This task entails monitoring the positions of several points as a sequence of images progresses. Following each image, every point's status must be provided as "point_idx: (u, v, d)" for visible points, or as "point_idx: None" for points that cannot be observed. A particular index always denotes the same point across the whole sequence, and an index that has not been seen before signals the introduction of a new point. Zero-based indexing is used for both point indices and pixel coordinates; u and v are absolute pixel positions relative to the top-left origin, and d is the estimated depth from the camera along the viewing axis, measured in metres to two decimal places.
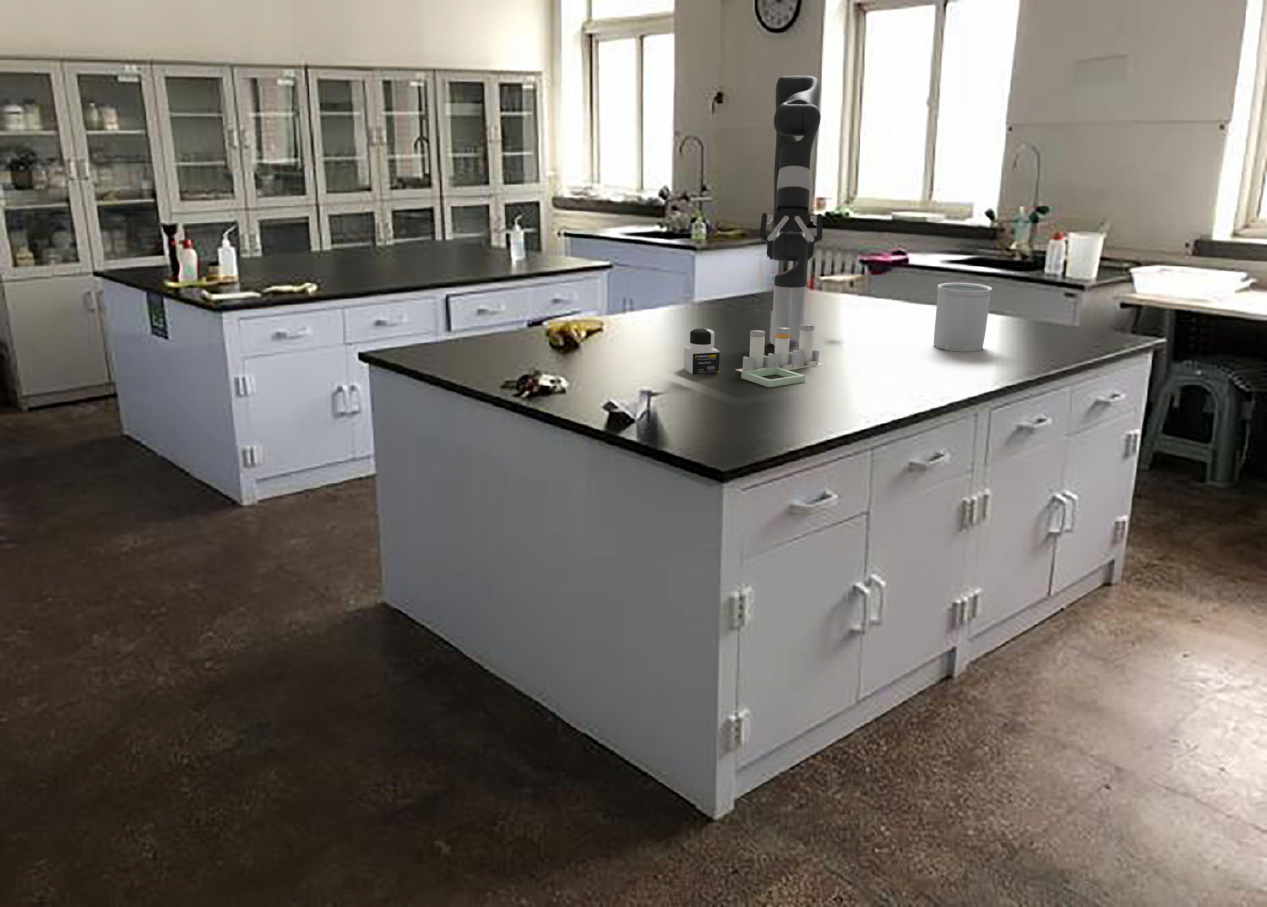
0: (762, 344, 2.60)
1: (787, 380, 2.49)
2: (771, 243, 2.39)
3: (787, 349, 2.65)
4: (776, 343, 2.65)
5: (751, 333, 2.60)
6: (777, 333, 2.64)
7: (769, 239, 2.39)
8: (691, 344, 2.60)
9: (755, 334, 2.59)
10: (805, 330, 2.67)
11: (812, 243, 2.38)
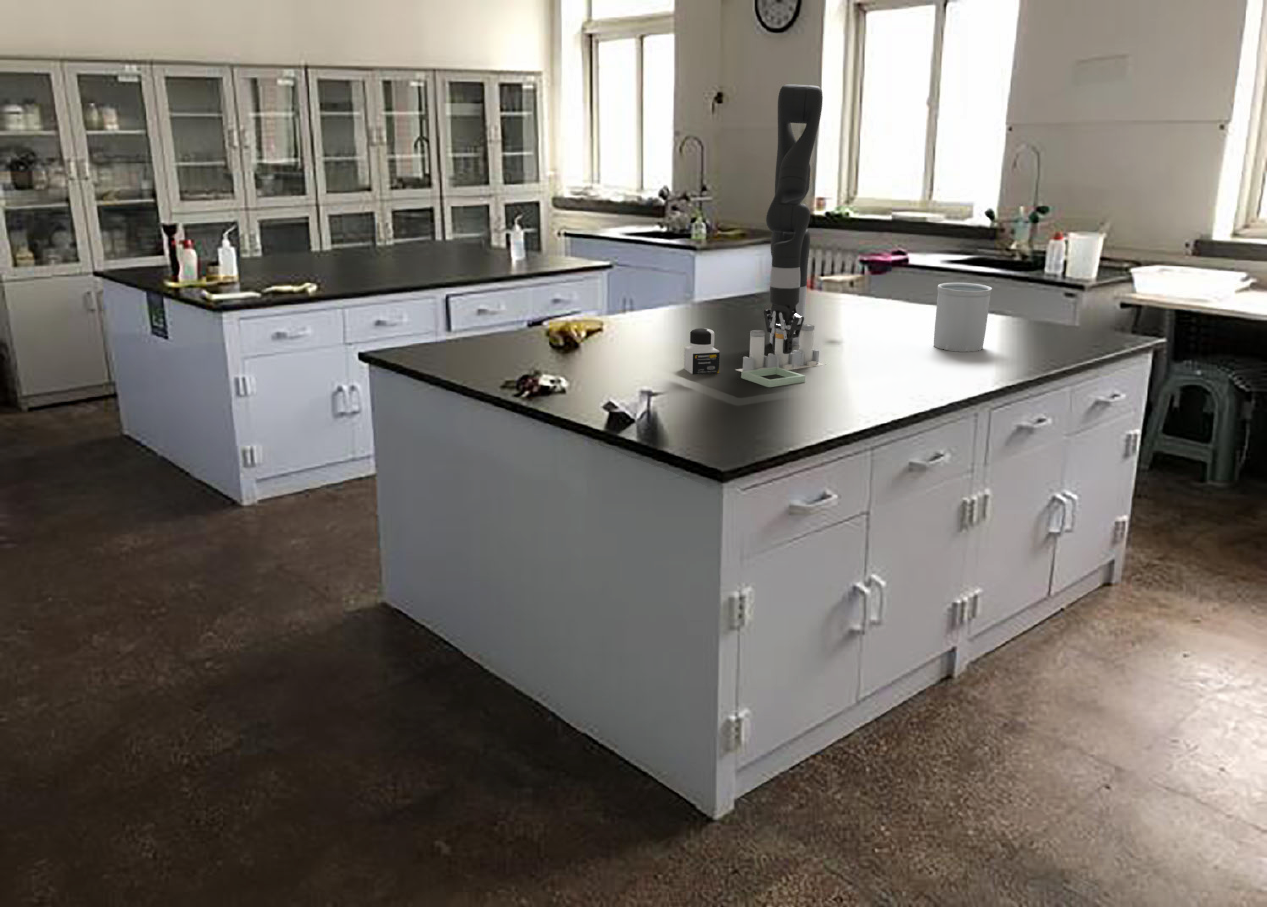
0: (762, 344, 2.60)
1: (787, 380, 2.49)
2: (773, 338, 2.67)
3: None
4: (776, 343, 2.65)
5: (751, 333, 2.60)
6: (777, 333, 2.64)
7: (772, 334, 2.67)
8: (691, 344, 2.60)
9: (755, 334, 2.59)
10: (805, 330, 2.67)
11: (787, 340, 2.63)
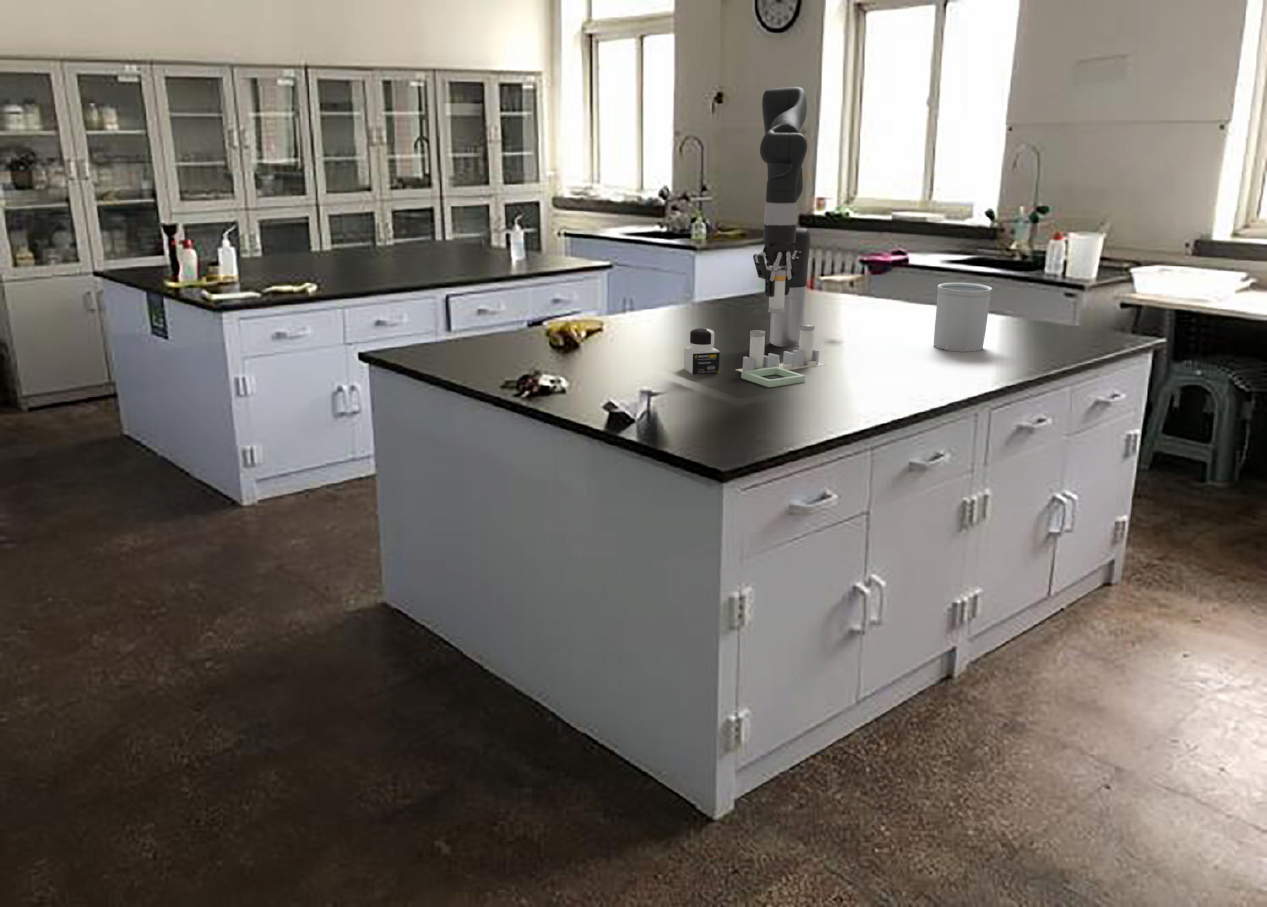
0: (762, 344, 2.60)
1: (787, 380, 2.49)
2: (773, 283, 2.45)
3: None
4: (781, 286, 2.46)
5: (751, 333, 2.60)
6: (783, 275, 2.45)
7: (772, 279, 2.44)
8: (691, 344, 2.60)
9: (755, 334, 2.59)
10: (805, 330, 2.67)
11: (788, 280, 2.48)
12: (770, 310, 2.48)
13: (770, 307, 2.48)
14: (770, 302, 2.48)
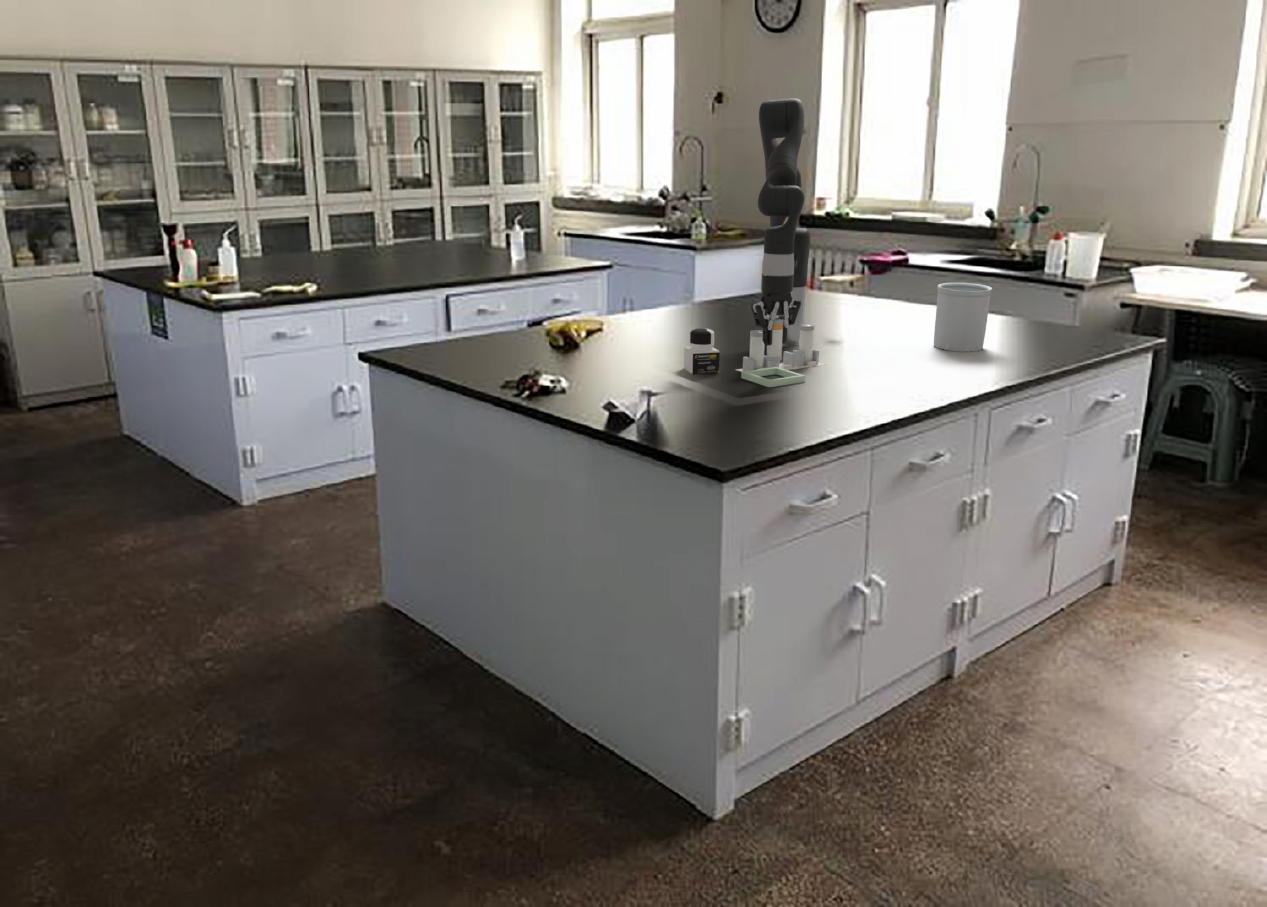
0: (762, 344, 2.60)
1: (787, 380, 2.49)
2: (770, 331, 2.49)
3: None
4: (779, 335, 2.49)
5: (751, 333, 2.60)
6: (780, 324, 2.49)
7: (769, 328, 2.48)
8: (691, 344, 2.60)
9: (755, 334, 2.59)
10: (805, 330, 2.67)
11: (786, 328, 2.51)
12: (767, 358, 2.52)
13: (768, 355, 2.51)
14: (767, 350, 2.51)
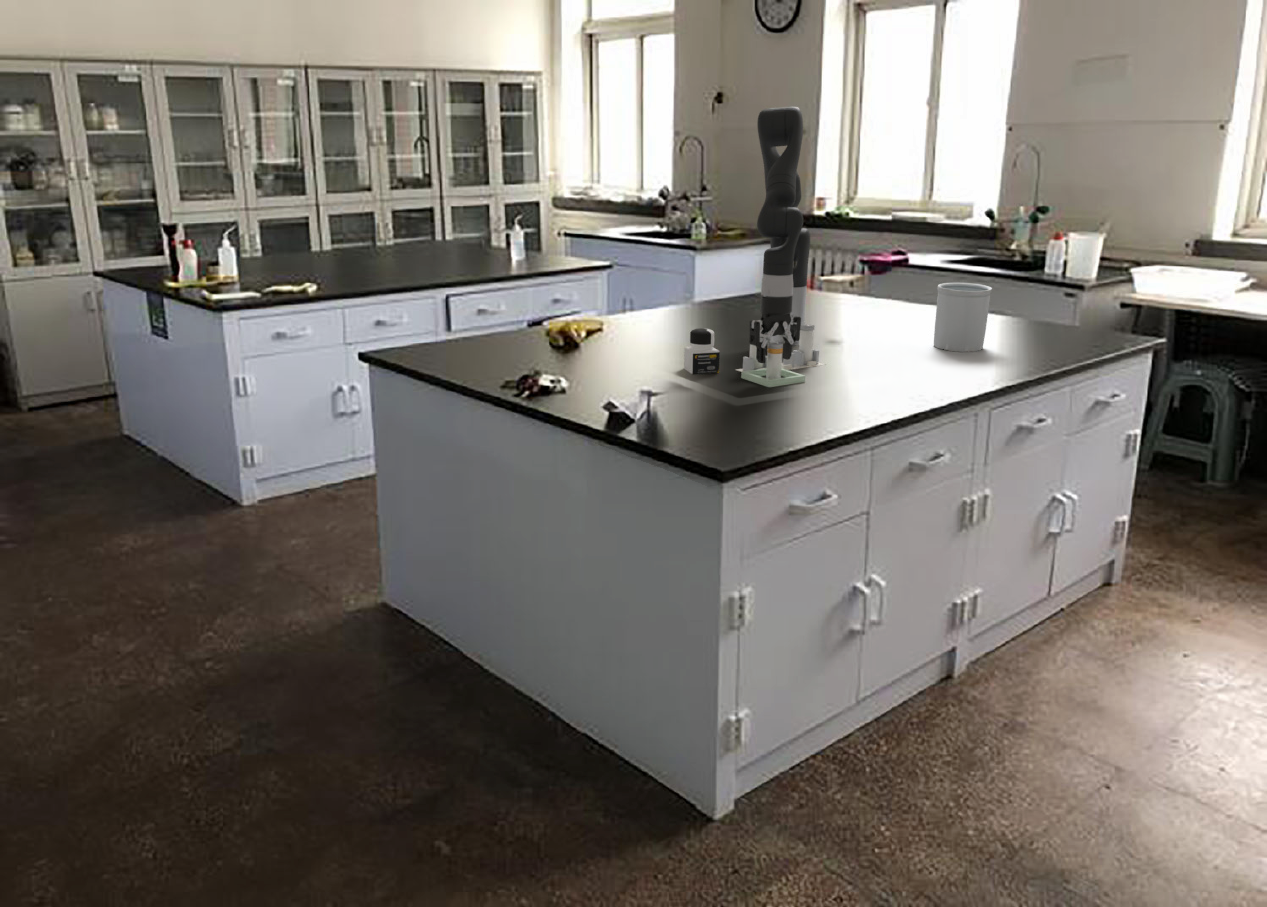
0: None
1: (787, 380, 2.49)
2: (764, 349, 2.49)
3: None
4: (778, 359, 2.51)
5: None
6: (780, 348, 2.50)
7: (763, 346, 2.48)
8: (691, 344, 2.60)
9: None
10: (805, 330, 2.67)
11: (791, 344, 2.53)
12: None
13: (767, 378, 2.53)
14: (767, 374, 2.53)
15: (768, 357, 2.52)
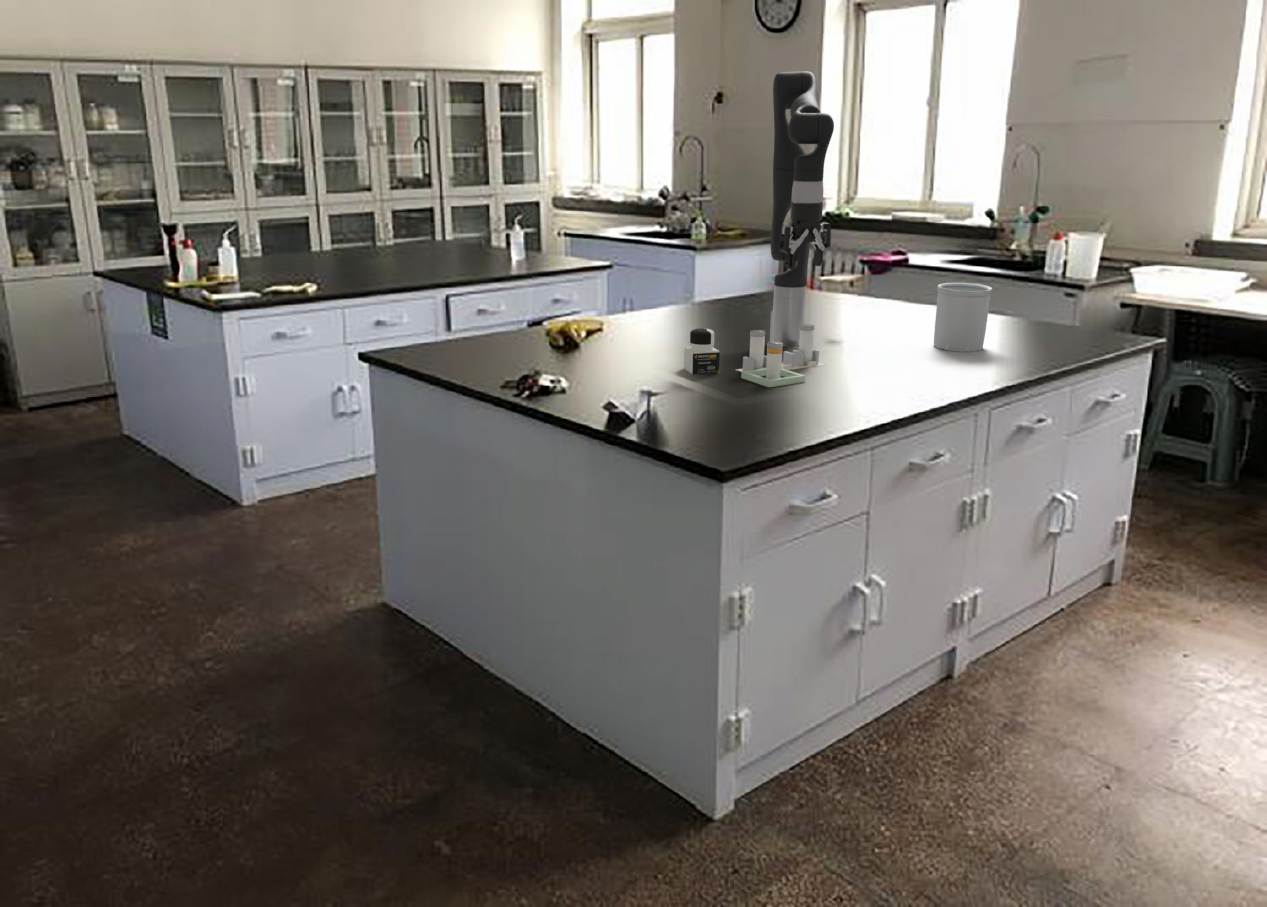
0: (762, 344, 2.60)
1: (787, 380, 2.49)
2: (793, 255, 2.52)
3: None
4: (778, 359, 2.51)
5: (751, 333, 2.60)
6: (780, 348, 2.50)
7: (792, 252, 2.52)
8: (691, 344, 2.60)
9: (755, 334, 2.59)
10: (805, 330, 2.67)
11: (822, 251, 2.57)
12: None
13: None
14: (767, 374, 2.53)
15: (768, 357, 2.52)
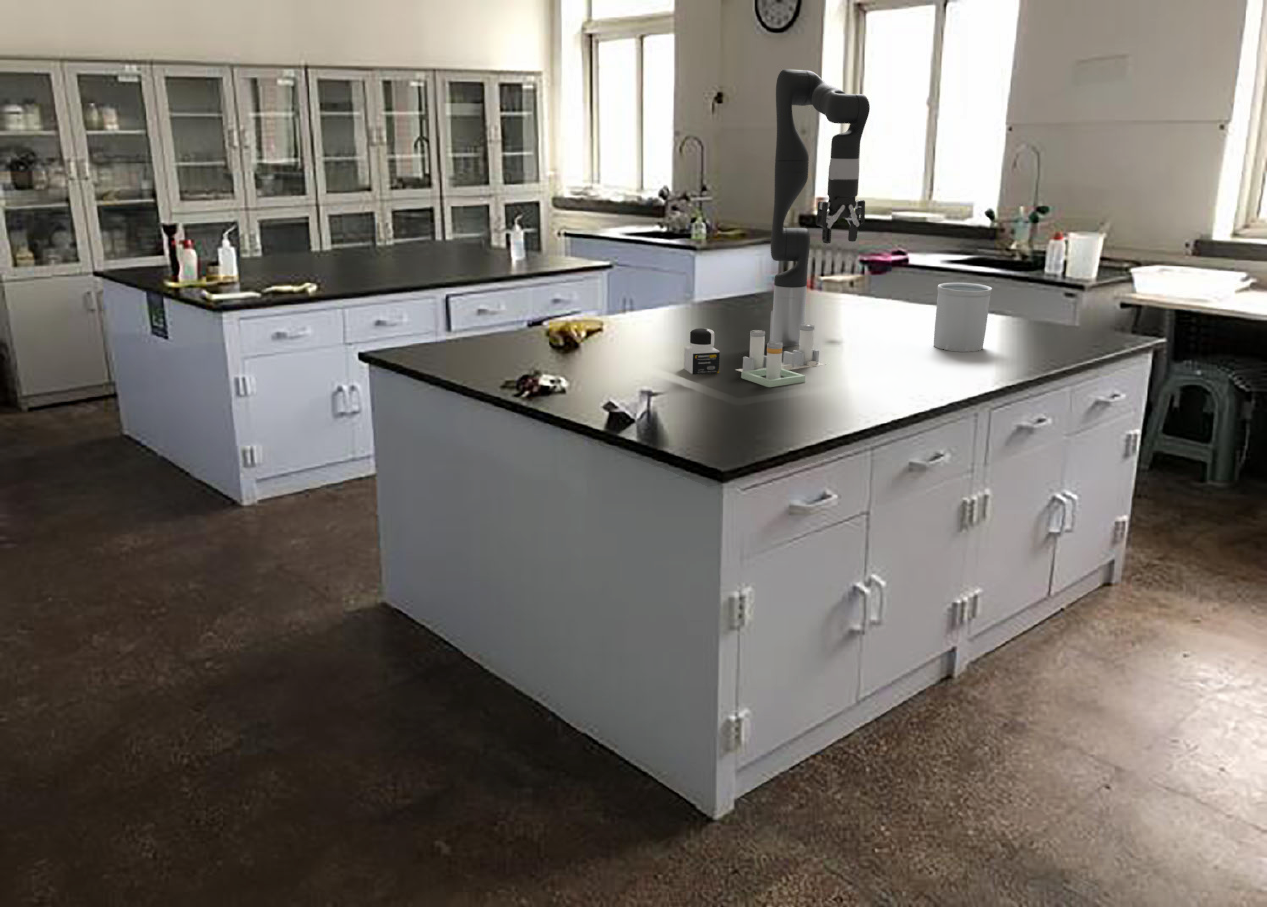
0: (762, 344, 2.60)
1: (787, 380, 2.49)
2: (830, 230, 2.64)
3: None
4: (778, 359, 2.51)
5: (751, 333, 2.60)
6: (779, 348, 2.50)
7: (829, 226, 2.63)
8: (691, 344, 2.60)
9: (755, 334, 2.59)
10: (805, 330, 2.67)
11: (856, 227, 2.69)
12: None
13: None
14: (767, 374, 2.53)
15: (768, 357, 2.52)
